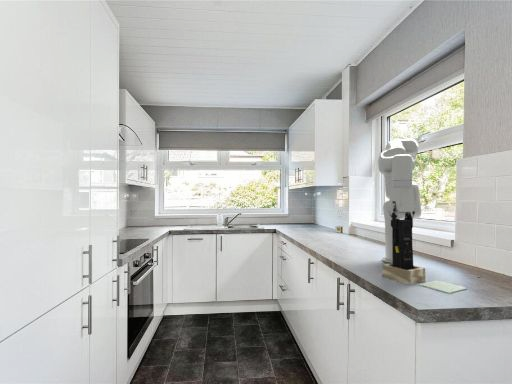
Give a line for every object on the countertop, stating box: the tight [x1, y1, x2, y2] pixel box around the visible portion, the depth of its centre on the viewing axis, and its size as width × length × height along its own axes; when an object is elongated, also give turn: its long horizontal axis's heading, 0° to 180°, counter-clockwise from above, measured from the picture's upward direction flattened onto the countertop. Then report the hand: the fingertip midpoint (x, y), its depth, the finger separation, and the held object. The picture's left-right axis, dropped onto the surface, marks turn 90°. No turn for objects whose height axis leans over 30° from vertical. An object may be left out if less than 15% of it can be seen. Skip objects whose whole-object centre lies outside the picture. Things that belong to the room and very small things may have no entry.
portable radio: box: [391, 214, 414, 270], centre depth 120 cm, size 8×6×25 cm
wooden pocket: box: [381, 263, 426, 285], centre depth 119 cm, size 10×12×5 cm
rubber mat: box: [418, 280, 468, 295], centre depth 108 cm, size 11×11×1 cm
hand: (402, 227), depth 120 cm, fingers closed on portable radio, 7 cm apart
